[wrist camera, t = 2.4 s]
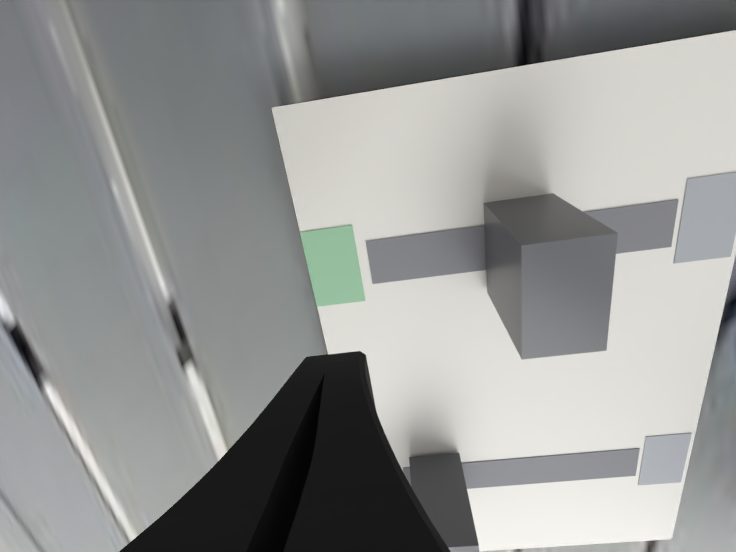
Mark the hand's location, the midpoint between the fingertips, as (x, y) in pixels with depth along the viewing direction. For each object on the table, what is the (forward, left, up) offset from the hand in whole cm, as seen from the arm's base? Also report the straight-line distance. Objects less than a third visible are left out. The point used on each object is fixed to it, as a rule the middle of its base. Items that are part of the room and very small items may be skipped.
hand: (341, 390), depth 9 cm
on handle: (-2, +12, -7) cm, 14 cm away
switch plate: (-6, +6, -9) cm, 12 cm away
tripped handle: (-6, 0, -7) cm, 10 cm away
